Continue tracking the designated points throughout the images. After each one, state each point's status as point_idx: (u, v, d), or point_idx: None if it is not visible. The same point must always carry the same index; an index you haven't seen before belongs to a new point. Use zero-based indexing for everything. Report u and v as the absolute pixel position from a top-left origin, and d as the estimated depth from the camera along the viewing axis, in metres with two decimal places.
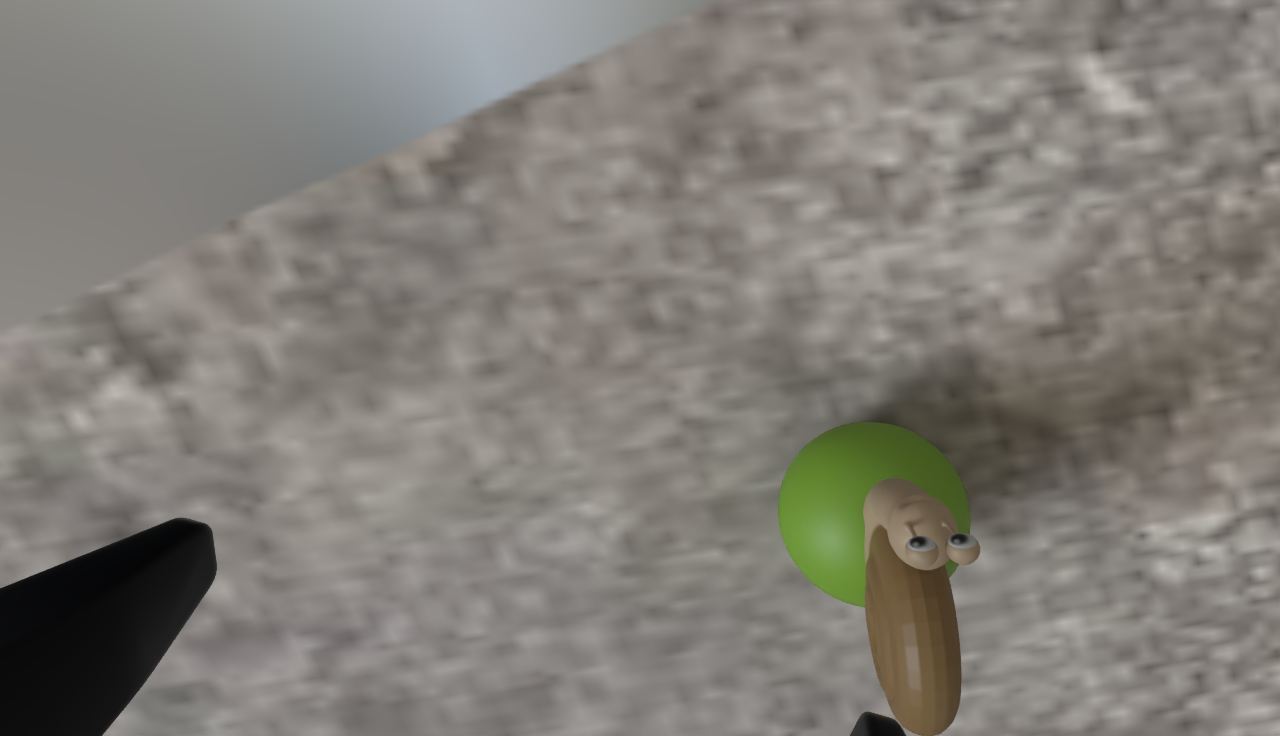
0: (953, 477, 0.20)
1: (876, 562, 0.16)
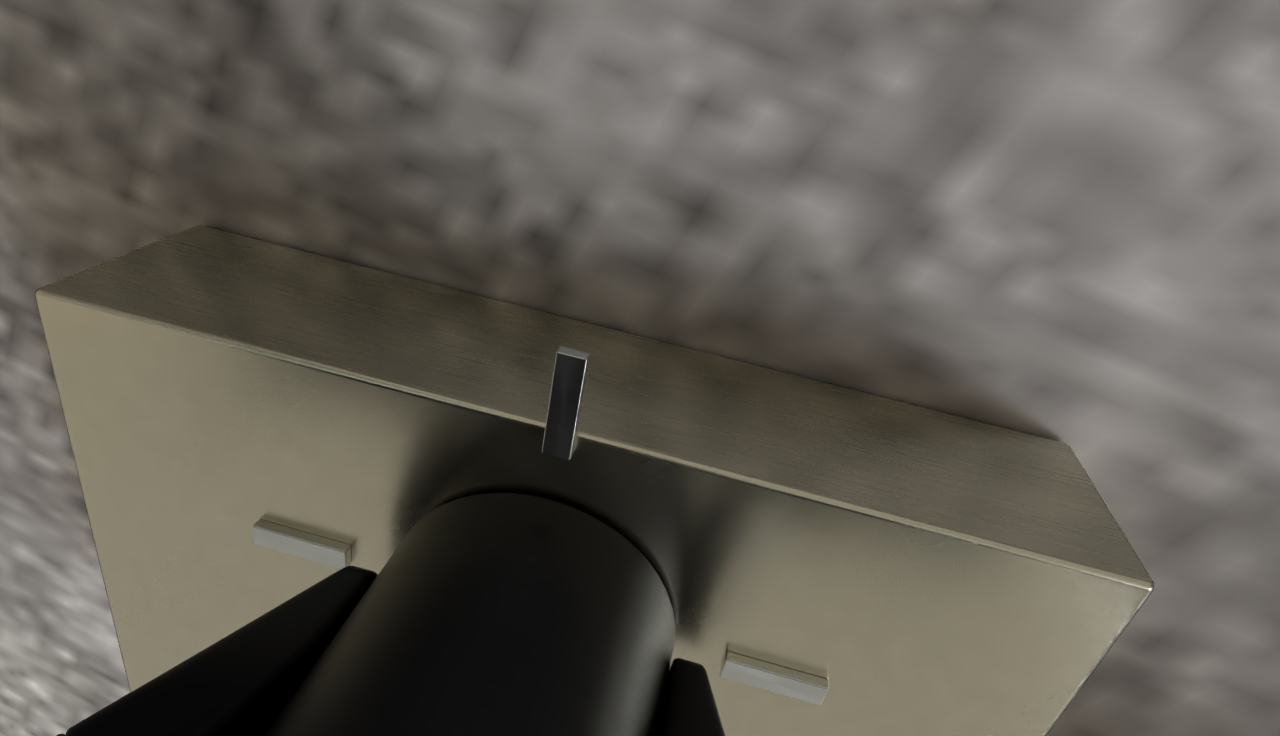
0: None
1: None
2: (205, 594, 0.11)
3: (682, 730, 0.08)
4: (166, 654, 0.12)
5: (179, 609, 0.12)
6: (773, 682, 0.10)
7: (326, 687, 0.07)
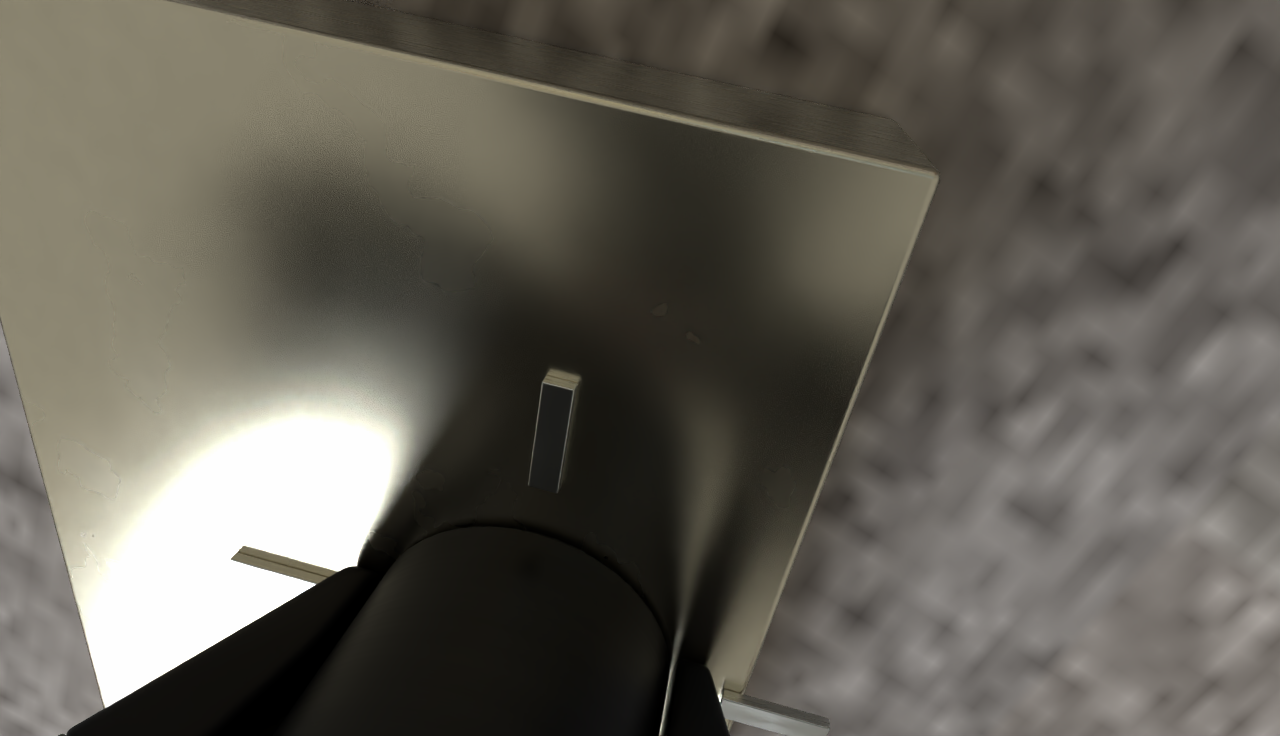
0: None
1: None
2: (412, 250, 0.07)
3: (687, 731, 0.08)
4: (241, 120, 0.07)
5: (361, 189, 0.07)
6: None
7: None
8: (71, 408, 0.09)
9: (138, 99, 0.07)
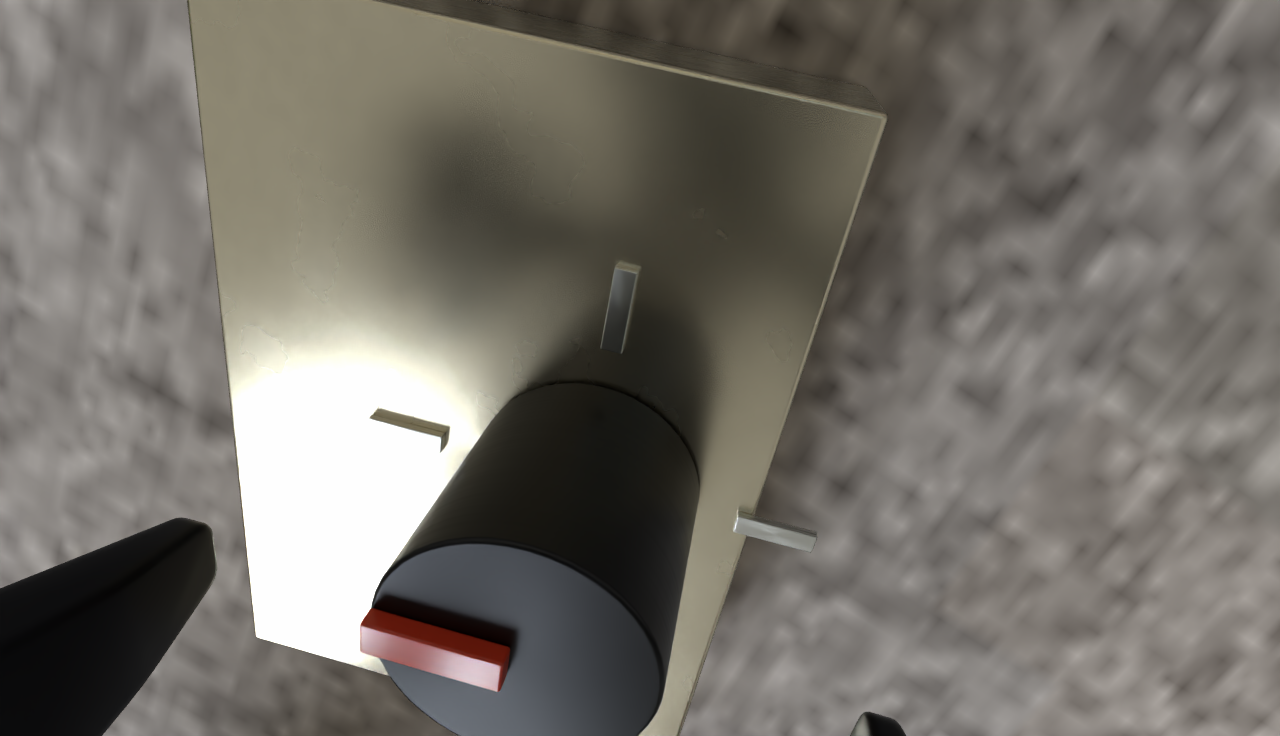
0: None
1: None
2: (527, 173, 0.11)
3: None
4: (413, 81, 0.10)
5: (494, 130, 0.10)
6: None
7: (459, 494, 0.10)
8: (257, 300, 0.13)
9: (340, 67, 0.10)
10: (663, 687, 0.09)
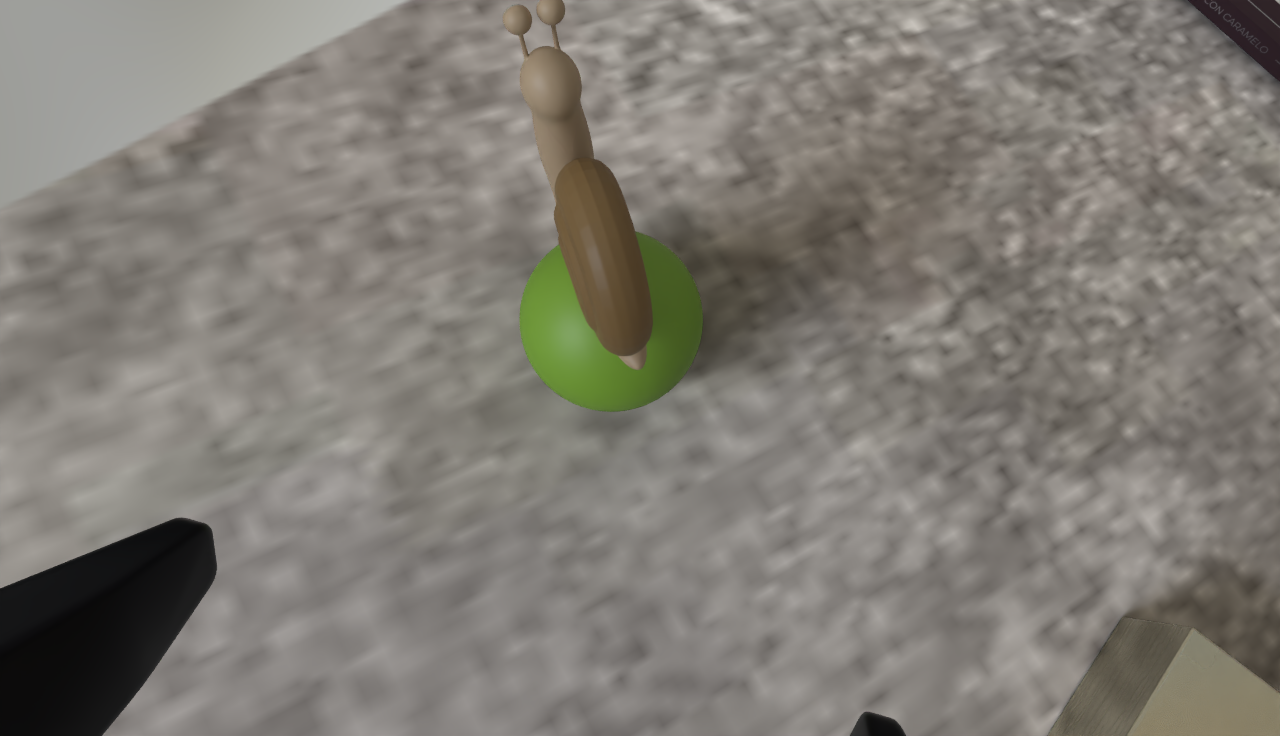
0: None
1: None
2: None
3: None
4: None
5: None
6: None
7: None
8: None
9: (1256, 718, 0.19)
10: None
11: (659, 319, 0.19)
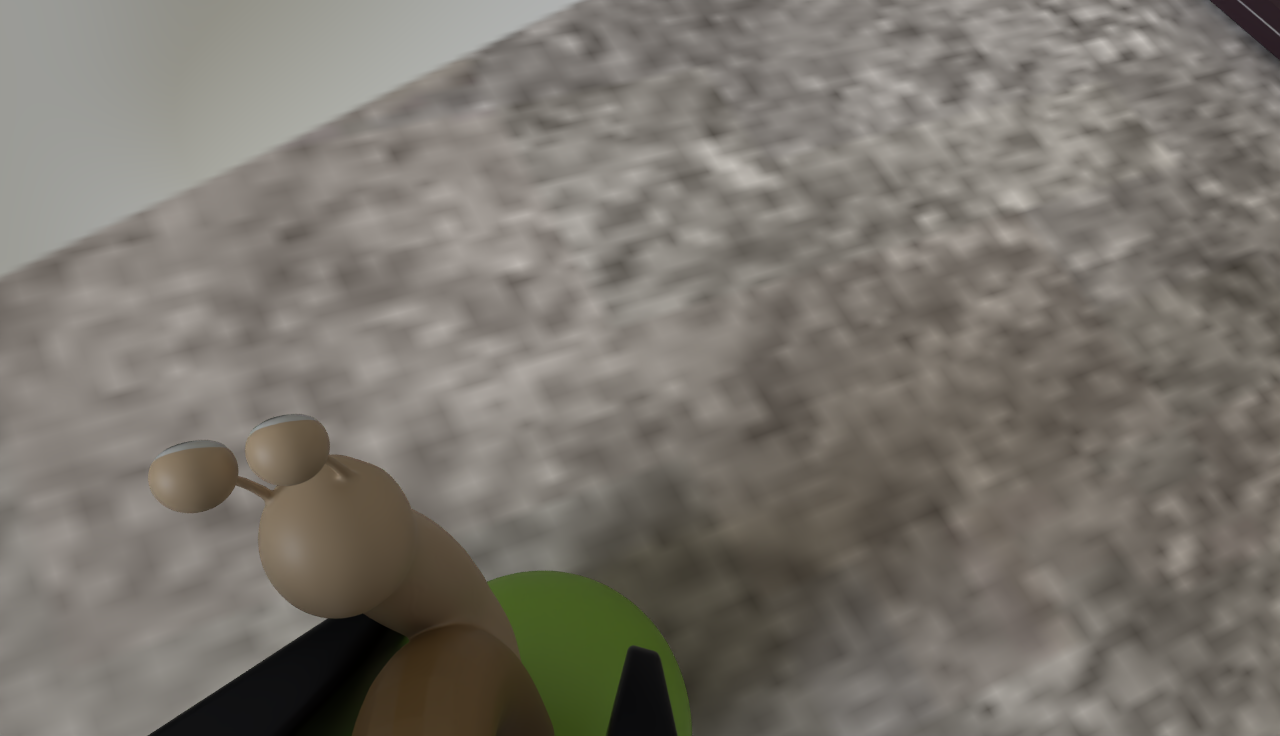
0: (634, 621, 0.12)
1: None
2: None
3: (630, 715, 0.08)
4: None
5: None
6: None
7: None
8: None
9: None
10: None
11: None
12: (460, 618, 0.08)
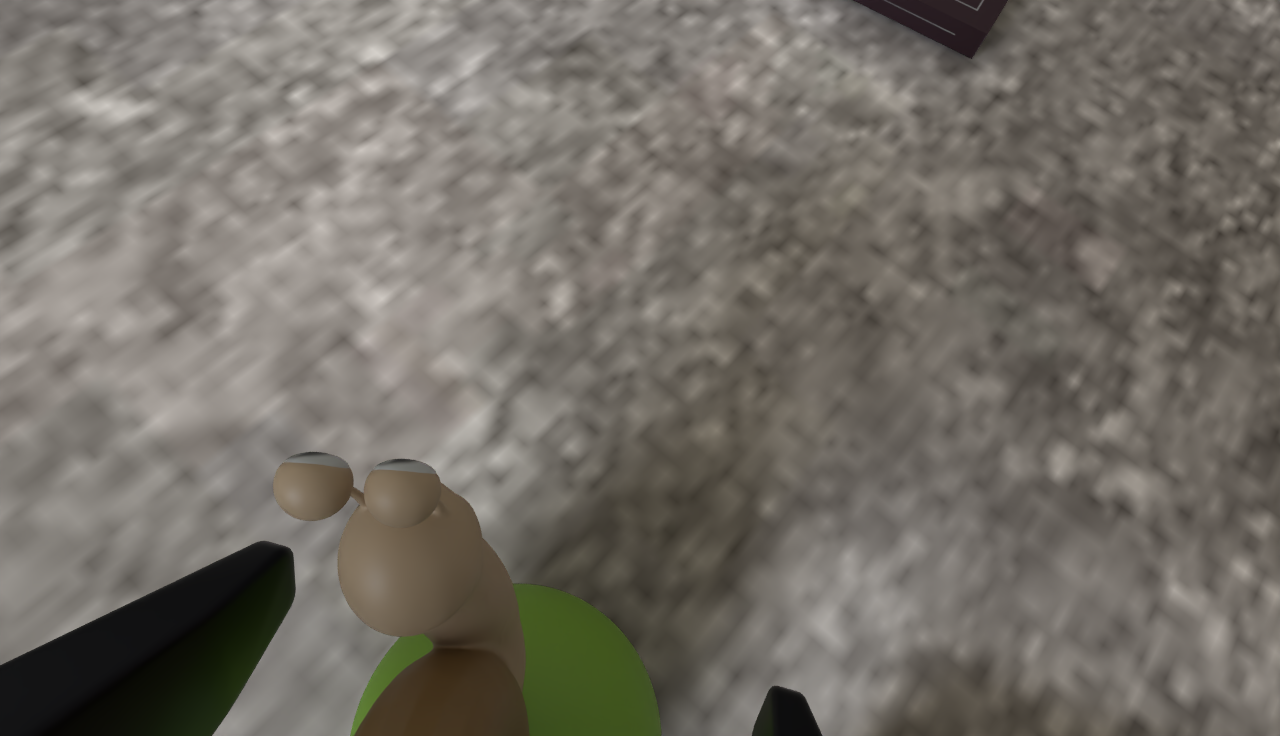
0: (636, 680, 0.12)
1: None
2: None
3: None
4: None
5: None
6: None
7: None
8: None
9: None
10: None
11: None
12: (486, 645, 0.09)
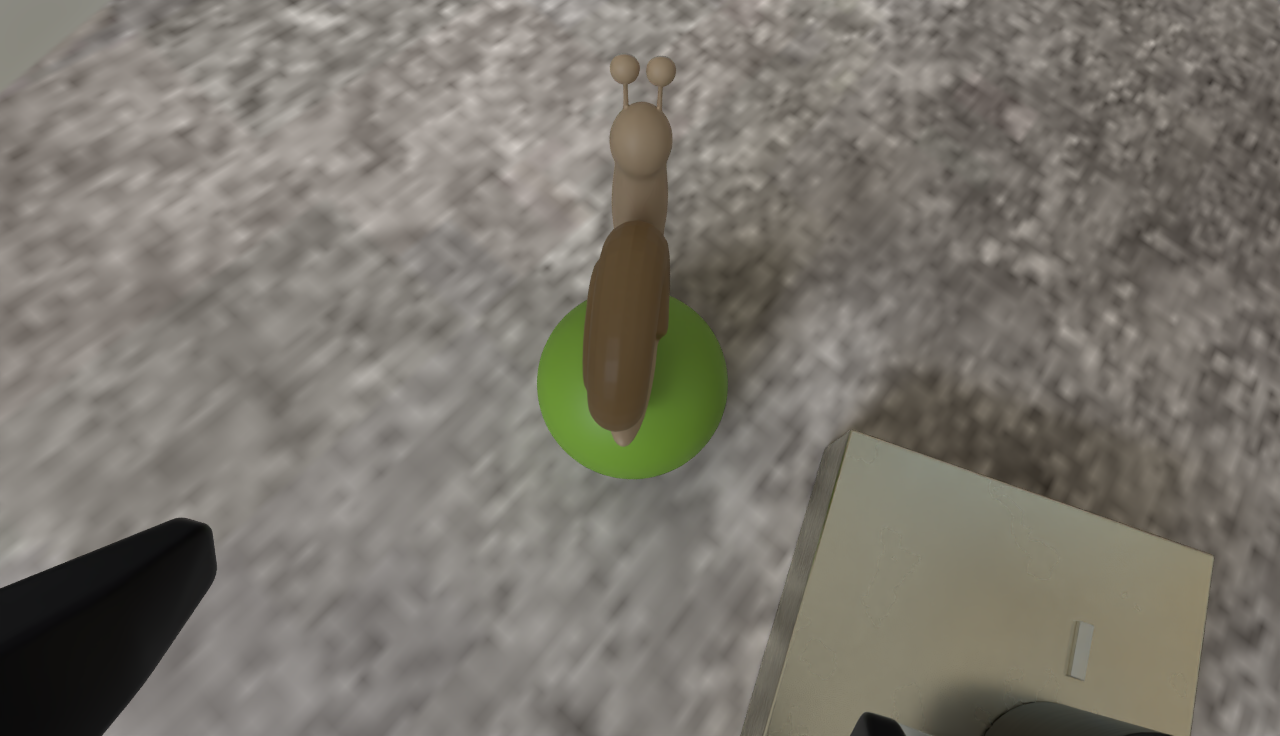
0: (713, 335, 0.20)
1: None
2: (1025, 560, 0.19)
3: None
4: (966, 504, 0.20)
5: (1009, 534, 0.19)
6: None
7: (1083, 729, 0.15)
8: (828, 620, 0.19)
9: (926, 491, 0.20)
10: None
11: (670, 405, 0.18)
12: None
